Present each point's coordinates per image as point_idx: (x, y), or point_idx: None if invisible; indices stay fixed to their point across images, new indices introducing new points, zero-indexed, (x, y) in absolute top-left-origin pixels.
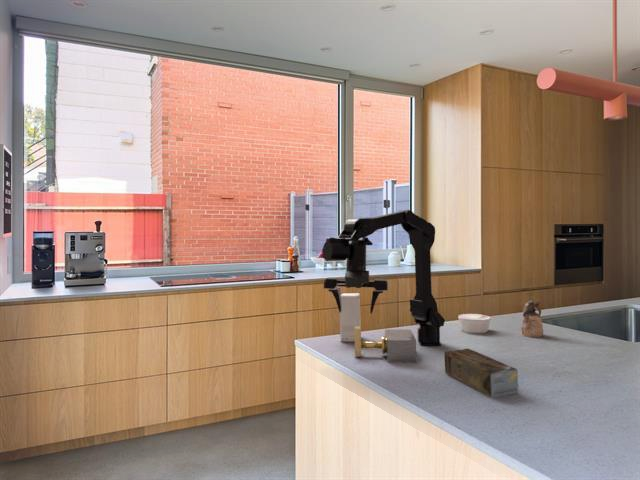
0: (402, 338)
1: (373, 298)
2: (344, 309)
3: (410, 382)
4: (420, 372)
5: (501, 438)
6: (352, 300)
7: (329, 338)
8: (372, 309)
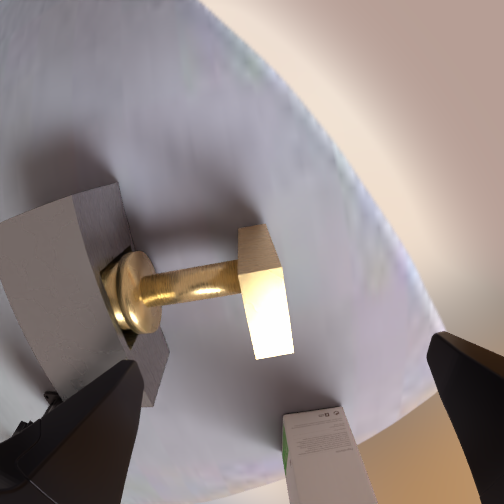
0: (26, 251)
1: (21, 461)
2: (355, 497)
3: (53, 13)
4: (22, 108)
5: None
6: None
7: (374, 420)
8: (98, 379)
